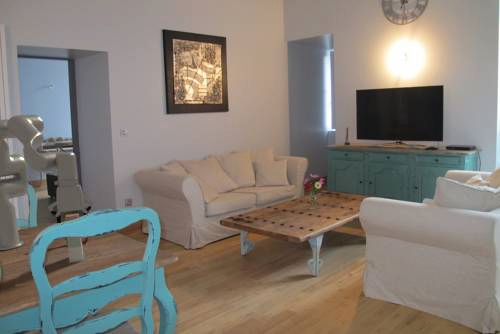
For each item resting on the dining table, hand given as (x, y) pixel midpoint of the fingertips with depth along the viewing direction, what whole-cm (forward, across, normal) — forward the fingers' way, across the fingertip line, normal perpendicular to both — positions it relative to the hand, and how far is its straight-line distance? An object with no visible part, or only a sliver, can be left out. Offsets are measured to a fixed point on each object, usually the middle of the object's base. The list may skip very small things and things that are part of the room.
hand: (73, 224), depth 185 cm
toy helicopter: (+16, -4, +25) cm, 30 cm away
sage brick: (+9, 0, 0) cm, 9 cm away
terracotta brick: (+3, 0, 0) cm, 3 cm away
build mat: (+15, 0, 0) cm, 15 cm away
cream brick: (+15, 0, 0) cm, 15 cm away
